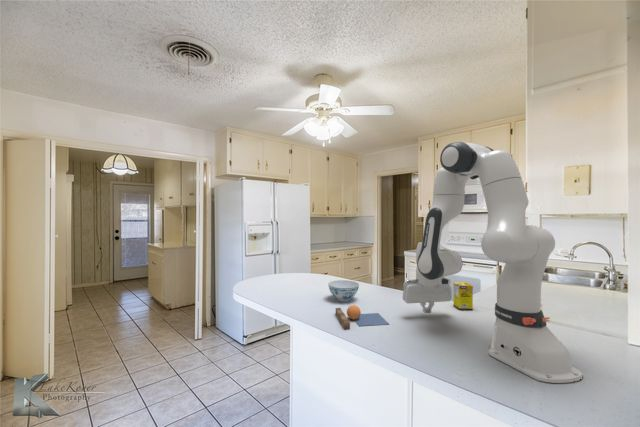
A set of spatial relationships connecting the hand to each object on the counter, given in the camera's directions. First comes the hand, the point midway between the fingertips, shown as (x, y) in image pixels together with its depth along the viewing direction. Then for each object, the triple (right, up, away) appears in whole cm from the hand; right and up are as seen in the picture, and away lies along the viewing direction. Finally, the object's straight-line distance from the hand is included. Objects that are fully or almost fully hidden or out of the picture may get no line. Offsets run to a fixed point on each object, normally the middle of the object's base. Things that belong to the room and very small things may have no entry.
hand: (427, 312), depth 119 cm
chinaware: (-33, -2, +22) cm, 40 cm away
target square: (-24, -2, -4) cm, 25 cm away
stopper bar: (-35, -2, -5) cm, 36 cm away
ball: (-31, +1, -3) cm, 31 cm away
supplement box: (+20, -2, +10) cm, 22 cm away
